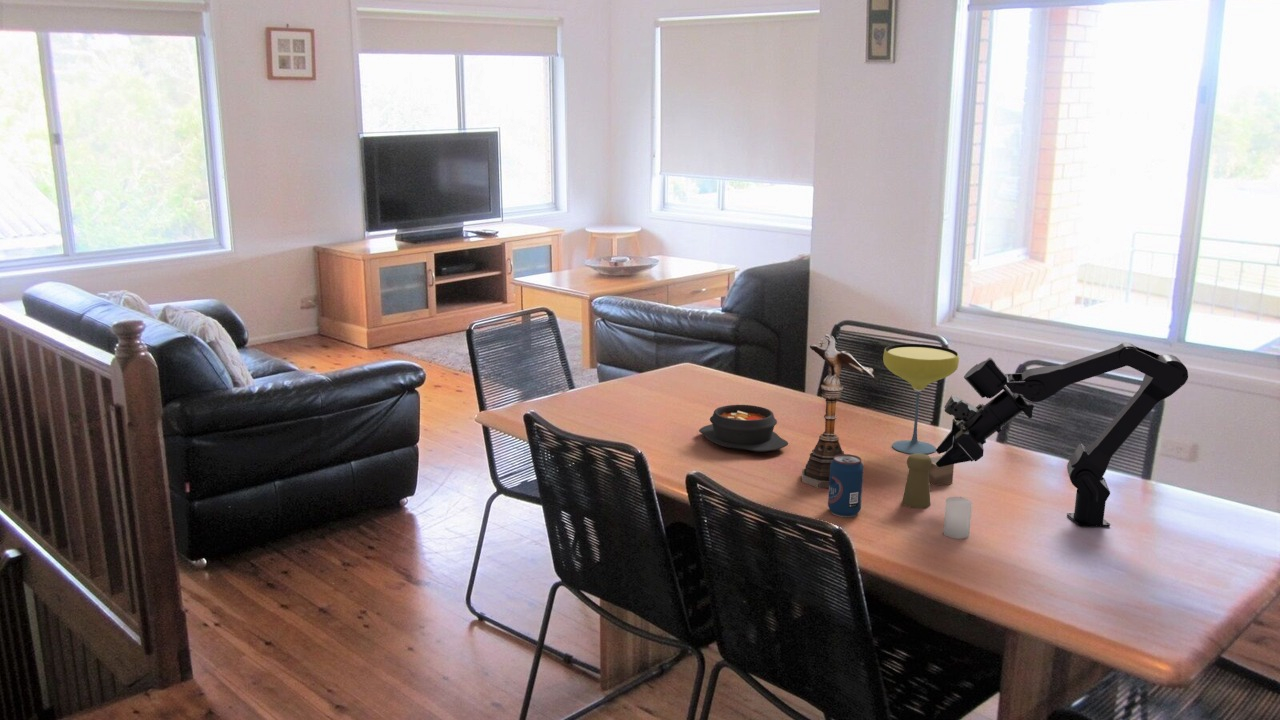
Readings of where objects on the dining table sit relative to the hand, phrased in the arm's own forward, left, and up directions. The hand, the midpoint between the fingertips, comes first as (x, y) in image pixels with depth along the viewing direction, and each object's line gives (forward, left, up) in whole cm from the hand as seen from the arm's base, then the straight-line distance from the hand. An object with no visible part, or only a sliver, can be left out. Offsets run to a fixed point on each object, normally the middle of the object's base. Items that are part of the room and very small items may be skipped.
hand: (937, 458), depth 226 cm
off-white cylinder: (-16, 0, -11) cm, 19 cm away
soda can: (-4, +20, -11) cm, 23 cm away
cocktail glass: (+39, -8, -11) cm, 41 cm away
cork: (+1, +3, -11) cm, 11 cm away
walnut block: (+15, -6, -11) cm, 19 cm away
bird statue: (+18, +18, -11) cm, 28 cm away
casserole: (+43, +35, -11) cm, 57 cm away
